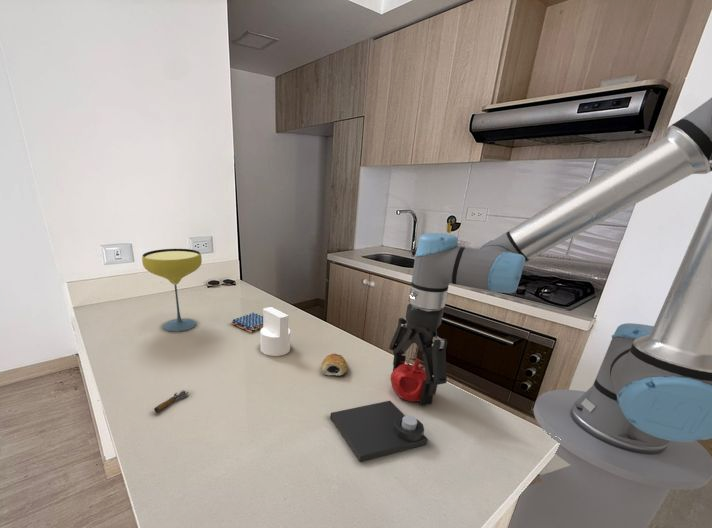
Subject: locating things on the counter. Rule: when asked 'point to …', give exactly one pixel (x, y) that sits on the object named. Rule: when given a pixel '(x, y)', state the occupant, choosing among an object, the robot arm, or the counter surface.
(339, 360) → the pastry
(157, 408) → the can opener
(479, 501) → the counter surface
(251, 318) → the woven mat
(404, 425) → the button
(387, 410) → the scale
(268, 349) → the base with upright slab
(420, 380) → the pomegranate
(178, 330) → the cocktail glass
